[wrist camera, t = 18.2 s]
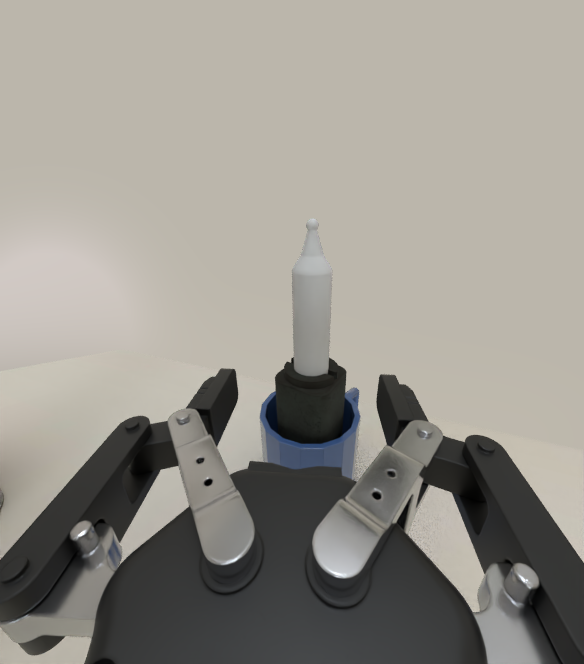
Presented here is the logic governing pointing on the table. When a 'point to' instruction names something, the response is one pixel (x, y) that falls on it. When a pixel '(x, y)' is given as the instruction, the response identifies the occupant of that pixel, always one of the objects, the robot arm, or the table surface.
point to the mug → (312, 455)
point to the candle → (311, 355)
